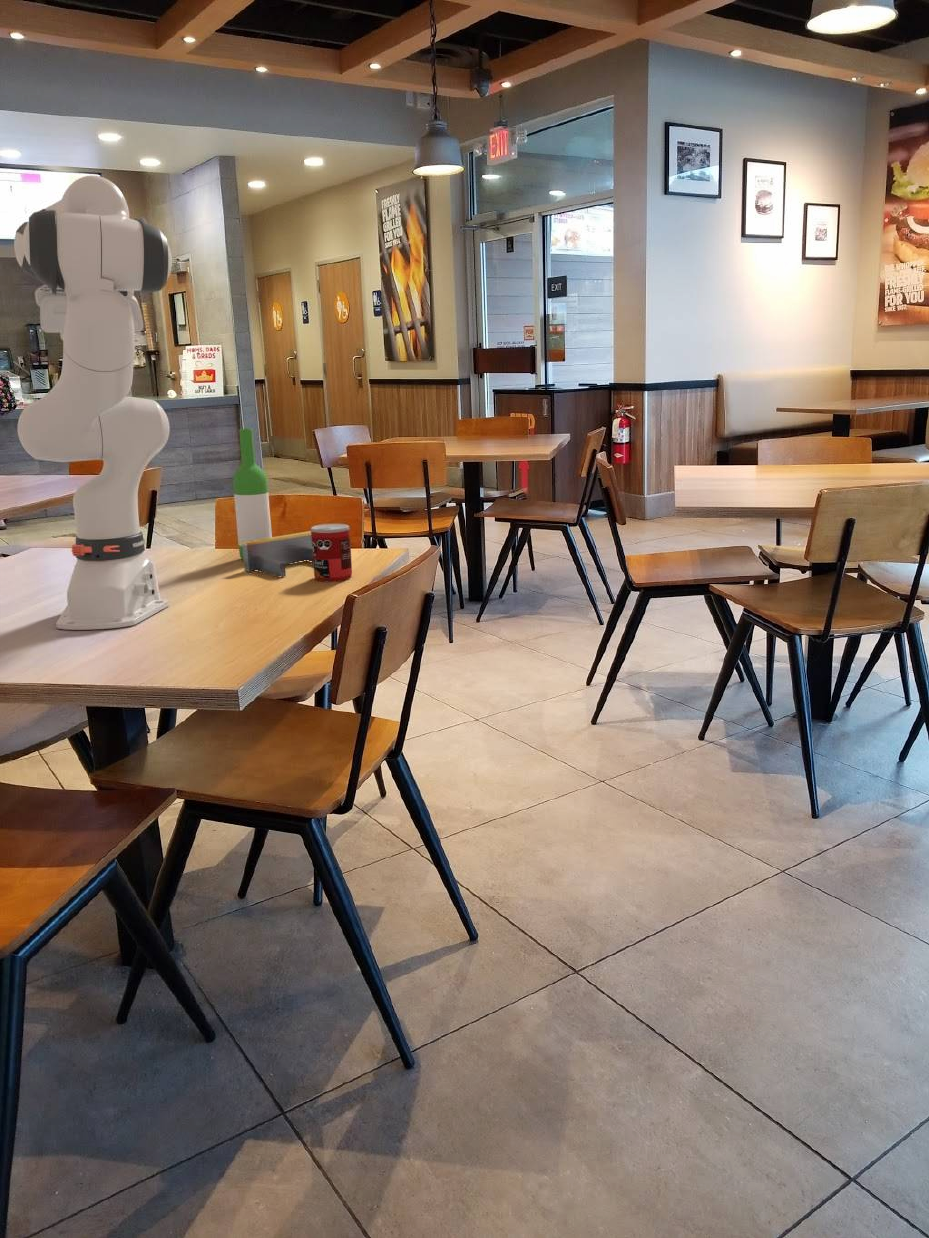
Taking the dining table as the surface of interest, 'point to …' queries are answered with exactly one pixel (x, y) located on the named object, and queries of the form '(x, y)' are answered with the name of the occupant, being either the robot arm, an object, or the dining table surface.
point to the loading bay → (277, 552)
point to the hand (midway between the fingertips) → (95, 353)
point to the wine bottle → (250, 495)
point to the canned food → (331, 552)
